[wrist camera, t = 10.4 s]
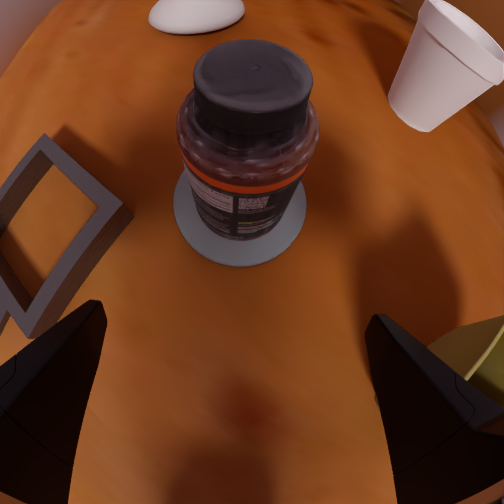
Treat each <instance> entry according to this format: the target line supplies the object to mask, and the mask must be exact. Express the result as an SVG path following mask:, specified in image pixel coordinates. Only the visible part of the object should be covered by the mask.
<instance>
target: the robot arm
mask: <svg viewBox="0 0 504 504" xmlns="http://www.w3.org/2000/svg"><path fill="white" fill-rule="evenodd" d="M106 328H107V317H106V314H105V311H104V308H103V304H102V302H101V301H99V300H88V301H87V302H85V303H84V304H82V305H81V306H80V307H78V308H77V309H75V310H74V311H73V312H71V313H70V314H69V315H67V316H66V317H64V318H63V319H62V320H60V321H59V322H58V323H56V324H55V325H53V326H52V327H51V328H49V329H48V330H47V331H45V332H44V333H43V334H41V335H40V336H39V337H37V338H36V339H35V340H33V341H32V342H31V343H30V344H28V345H27V346H26V347H24V348H23V349H22V350H21V351H19V352H18V353H17V355H14V356H13V357H12V358H10V359H9V360H8V361H6V362H5V363H4V364H3V365H1V366H0V504H68V498H69V490H70V484H71V477H72V471H73V465H74V459H75V454H76V449H77V444H78V439H79V435H80V431H81V426H82V422H83V418H84V414H85V410H86V406H87V403H88V399H89V395H90V392H91V388H92V385H93V381H94V378H95V375H96V371H97V368H98V364H99V360H100V355H101V351H102V346H103V341H104V337H105V332H106ZM365 342H366V347H367V353H368V359H369V366H370V371H371V376H372V381H373V384H374V388H375V392H376V396H377V400H378V404H379V408H380V413H381V417H382V421H383V426H384V430H385V435H386V440H387V444H388V449H389V455H390V460H391V465H392V471H393V475H394V476H393V478H394V484H395V490H396V497H397V504H504V408H503V407H501V406H500V405H499V404H497V403H496V402H494V401H493V400H492V399H490V398H489V397H488V396H486V395H485V394H483V393H482V392H481V391H479V390H478V389H477V388H475V387H474V386H473V385H471V384H470V383H469V382H468V381H466V380H465V379H464V378H463V377H461V376H460V375H459V374H458V373H457V372H456V371H454V370H453V369H452V368H451V367H450V366H448V365H447V364H446V363H445V362H444V361H442V360H441V359H440V358H439V357H437V356H436V355H435V354H434V353H433V352H431V351H430V350H429V349H428V348H427V347H425V346H424V345H423V344H422V343H420V342H419V341H418V340H417V339H415V338H414V337H413V336H412V335H410V334H409V333H408V332H407V331H406V330H404V329H403V328H402V327H400V326H399V325H398V324H397V323H395V322H394V321H393V320H392V319H390V318H389V317H388V316H387V315H385V314H374V315H373V316H372V318H371V320H370V322H369V324H368V326H367V329H366V331H365Z"/></svg>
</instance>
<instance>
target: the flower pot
mask: <svg viewBox="0 0 504 504" xmlns="http://www.w3.org/2000/svg"><path fill="white" fill-rule="evenodd" d="M427 348H428V349H429V350H430V351H431V352H433V353H434V354H435V355H436V356H437V357H439V358H440V359H441V360H442V361H444V362H445V363H446V364H447V365H448V366H450V367H451V368H452V369H453V370H454V371H456V372H457V373H458V374H459V375H460V376H461V377H463V378H464V379H465V380H466V381H468V382H469V383H470V384H471V385H473V386H474V387H475V388H477V389H478V390H479V391H481V392H482V393H483V394H485V395H486V396H488V397H489V398H490V399H492V400H493V401H494V402H496V403H497V404H499V405H500V406H501V407H503V408H504V315H503V316H499V317H496V318H492V319H488V320H484V321H481V322H477V323H473V324H469V325H465V326H462V327H459V328H456V329H453V330H451V331H449V332H447V333H445V334H444V335H442V336H440V337H439V338H437V339H436V340H435V341H433V342H432V343H431V344H429V345H428V346H427ZM375 402H376V404H377V406H378V408H379V404H378V400H377V396H376V392H375ZM379 410H380V408H379Z"/></svg>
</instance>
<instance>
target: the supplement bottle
mask: <svg viewBox="0 0 504 504" xmlns="http://www.w3.org/2000/svg"><path fill="white" fill-rule="evenodd" d="M193 77H194V89H192V91H191V92H190V93H189V94H188V95H187V97H186V98H185V99H184V102H183V103H182V105H181V107H180V110H179V113H178V115H177V124H176V125H177V139H178V143H179V147H180V152H181V155H182V159H183V163H184V167H185V170H186V174H187V177H188V181H189V184H190V188H191V192H192V195H193V199H194V202H195V205H196V209H197V211H198V214H199V216H200V218H201V220H202V221H203V223H204V224H205V225H206V226H207V227H208V228H209V229H210V230H211V231H212V232H214V233H215V234H217V235H219V236H221V237H223V238H225V239H228V240H235V241H248V240H253V239H256V238H260V237H262V236H264V235H266V234H267V233H269V232H270V231H271V230H272V229H273V228H274V227H275V226H276V225H277V224H278V223H279V221H280V220H281V218H282V216H283V214H284V212H285V210H286V208H287V206H288V204H289V202H290V200H291V198H292V196H293V194H294V192H295V190H296V188H297V186H298V184H299V182H300V180H301V178H302V176H303V174H304V172H305V170H306V168H307V166H308V164H309V162H310V160H311V158H312V156H313V154H314V152H315V149H316V146H317V143H318V139H319V122H318V117H317V114H316V111H315V109H314V107H313V105H312V103H311V102H310V100H309V96H310V93H311V90H312V86H313V77H312V73H311V71H310V68H309V67H308V65H307V64H306V63H305V61H304V60H303V59H302V58H300V57H299V56H298V55H297V54H295V53H294V52H292V51H291V50H289V49H287V48H285V47H283V46H280V45H278V44H275V43H272V42H268V41H263V40H251V39H250V40H235V41H229V42H226V43H223V44H220V45H218V46H216V47H214V48H212V49H210V50H208V51H207V52H206V53H205V54H203V55H202V57H201V58H200V59H199V60H198V61H197V63H196V65H195V68H194V73H193Z"/></svg>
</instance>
